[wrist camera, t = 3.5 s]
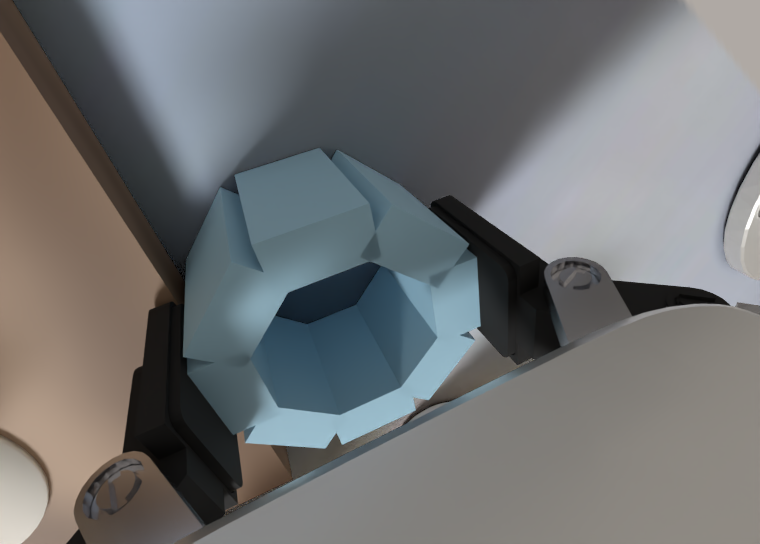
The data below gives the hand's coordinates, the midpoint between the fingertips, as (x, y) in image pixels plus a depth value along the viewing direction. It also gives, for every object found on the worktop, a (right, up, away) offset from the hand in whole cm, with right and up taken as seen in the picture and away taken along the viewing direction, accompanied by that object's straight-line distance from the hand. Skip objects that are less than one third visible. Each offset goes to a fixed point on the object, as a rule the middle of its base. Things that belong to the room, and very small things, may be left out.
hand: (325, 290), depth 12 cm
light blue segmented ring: (-1, +1, +1) cm, 2 cm away
